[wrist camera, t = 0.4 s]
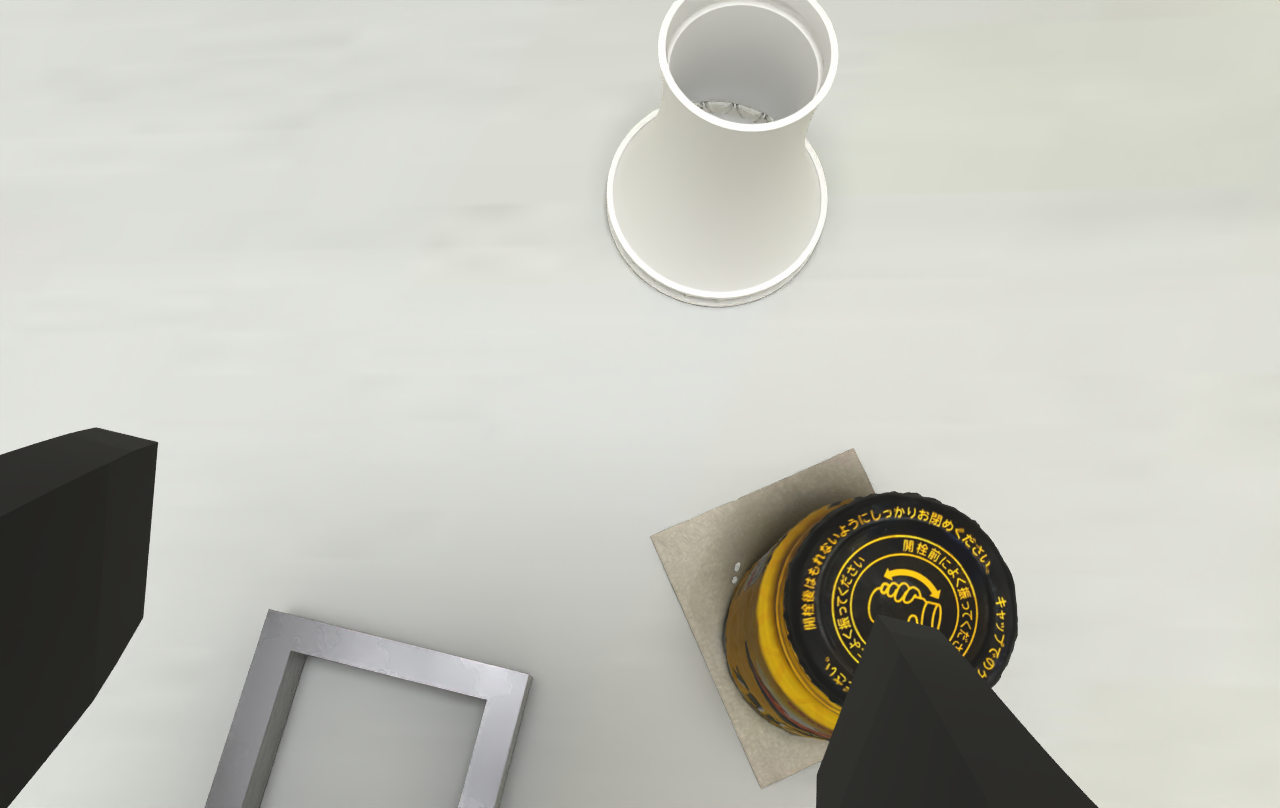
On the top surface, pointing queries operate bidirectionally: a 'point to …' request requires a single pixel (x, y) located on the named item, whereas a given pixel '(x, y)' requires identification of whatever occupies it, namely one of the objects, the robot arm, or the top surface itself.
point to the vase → (727, 152)
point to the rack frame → (298, 637)
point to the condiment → (827, 598)
